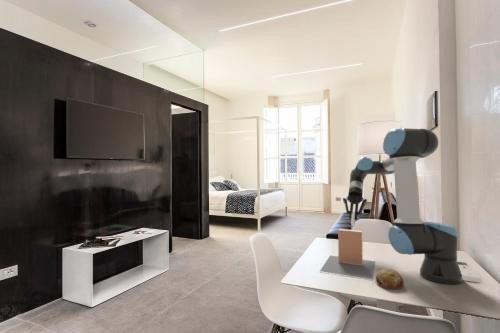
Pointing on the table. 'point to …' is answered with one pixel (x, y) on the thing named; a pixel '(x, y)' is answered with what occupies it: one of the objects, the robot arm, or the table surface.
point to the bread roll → (389, 279)
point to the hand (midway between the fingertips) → (352, 224)
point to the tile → (350, 246)
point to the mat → (349, 268)
